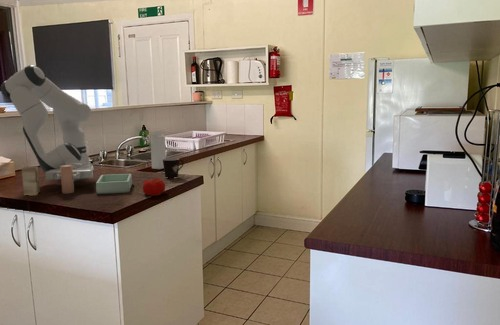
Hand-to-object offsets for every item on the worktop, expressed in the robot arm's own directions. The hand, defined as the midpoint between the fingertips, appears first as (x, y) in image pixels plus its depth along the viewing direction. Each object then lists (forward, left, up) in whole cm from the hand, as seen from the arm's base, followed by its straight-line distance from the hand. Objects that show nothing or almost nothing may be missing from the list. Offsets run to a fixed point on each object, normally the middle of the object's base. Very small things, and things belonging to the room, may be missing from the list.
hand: (66, 177), depth 184 cm
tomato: (+11, +38, -7) cm, 40 cm away
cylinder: (-1, 0, -7) cm, 7 cm away
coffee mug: (-23, +48, -7) cm, 54 cm away
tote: (-4, +20, -7) cm, 22 cm away
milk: (-53, +40, -7) cm, 67 cm away
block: (-1, -15, -7) cm, 17 cm away
